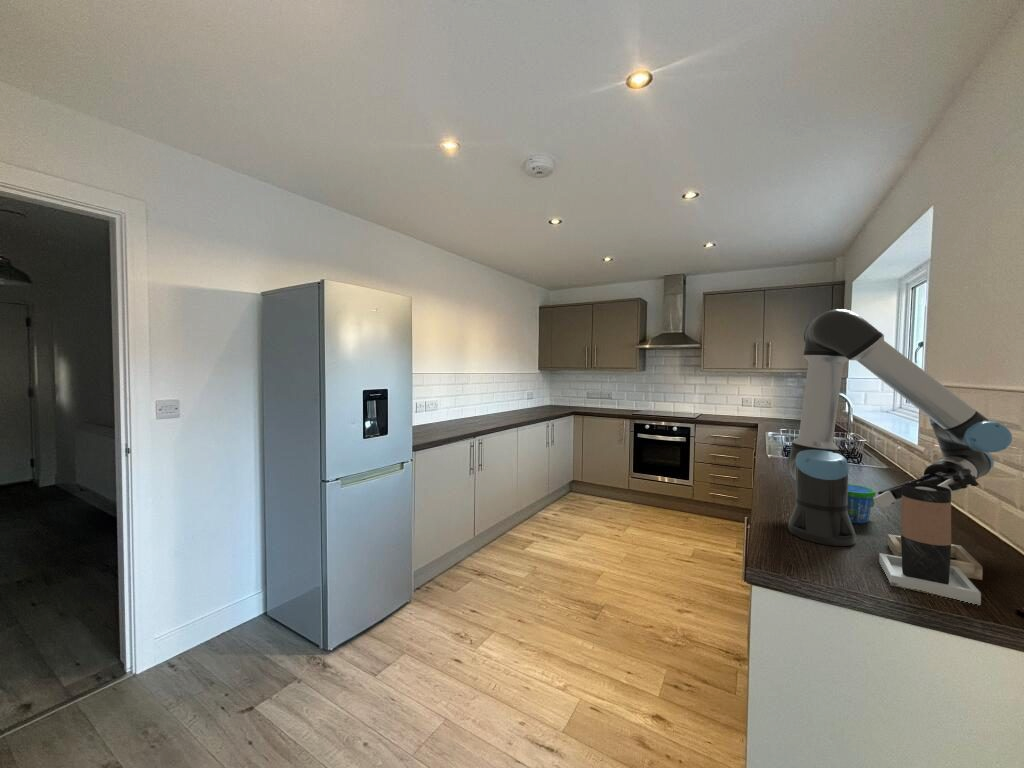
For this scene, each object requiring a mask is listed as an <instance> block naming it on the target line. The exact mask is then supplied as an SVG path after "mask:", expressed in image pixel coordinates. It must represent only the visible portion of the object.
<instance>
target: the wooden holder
mask: <svg viewBox="0 0 1024 768" xmlns="http://www.w3.org/2000/svg"><path fill="white" fill-rule="evenodd" d="M887 546H889V547H888V548H889V550H890V551H892V552H891V553H892V555H893V556H899V557H902V551H901V535H896V534H889V533H887ZM951 558H952V559H951ZM950 566H954V567H958V568H959V569H960V570H961V571H962V573H963V574H964V575H965V576H966V577H967V578H968V579H974V580H981V581H983V570H984V569H983V565H982V564H980V563H979V562H978V561H977V560H976V559H975V558H974V557H973V556H972V555H971V554H970V553H969V552H968V551H967V550H966V549H965V548H964V547H962V545H960V544H959V545H958V544H953V543H951V556H950Z"/></svg>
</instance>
